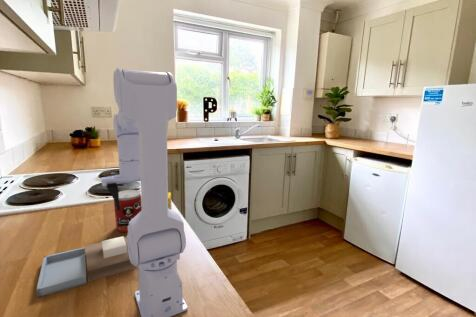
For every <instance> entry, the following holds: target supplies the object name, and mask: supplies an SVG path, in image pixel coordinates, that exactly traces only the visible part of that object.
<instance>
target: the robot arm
mask: <svg viewBox="0 0 476 317" xmlns="http://www.w3.org/2000/svg"><path fill="white" fill-rule="evenodd" d="M112 77H113V93H114V94H113V95H114V100H115V102H116V105H117V108H118V112H117V113H114V114H113V115H114V116H113V118H112V119H113V121H112V122H113V130H114V135H115V136H116V144H117V154H118V156H117V158H118V168H119V169H118V170H119V174H116V175H108V176H103V177H101V178H100V180H101V182H100V183H101V186H102V187H106V188H107V190H108V192H109V194H110V195H111V197H112V198H113V202H114V201H115V204H116V208H117V211H120V204H119V192H120V191H119V187H118V186H119V184H127V183H134V182H136V183H137V182H140V193H141V207H142V210H141V211H140V212H139V213H138V214H137V215H136V216H135V217H134V218H133V219H132V220H131V221H130V222H129V225H128V232H127V235H126V236H127V245H128V253H129V259H130V262H131V264H133V265H134V266H137V275H138V288H139V290H136V291H134V296H135V299H136V303H137V306H138V307H137V308H138V309H139V312H140V313H139V314H140V316H141V317H173V316H176V315H177V314H181V313H182V312H183V313H184V312H185V311H188V306H189V305H188V304H187V302H186V301H185V299H184V296H183V282H182V279H181V277H180V275H179V272H178V260H180V259H181V258H180V256H181V255H180V254H182V253H184V252H185V249H186V247H187V239H186V232H185V226H184V220H183V219H182V217H181V216H180V215H179V213H178V212H176V211H174V210H170V209H168V193H169V180H168V179H169V177H168V175H169V173H168V171H169V169H168V129H169V128H168V126H169V122H170V121H171V120H173V119H174V118H176V117H177V112H178V86H177V83H176V79H175V77H174V75H173V74H172V73H171V72H169V71H166V72H162V71H161V72H160V71H151V70H150V71H149V70H137V69H126V68H124V69H123V68H122V67H116V69H115V70H114V71H113V76H112Z"/></svg>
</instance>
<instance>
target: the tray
mask: <svg viewBox="0 0 476 317" xmlns="http://www.w3.org/2000/svg"><path fill="white" fill-rule="evenodd" d="M37 281H38V282H37V286H36V295H37V298H38V297H39V298H41V297H40V296H42V297H44V296H43V295H46V294H49V295H51V294H50V293H53V294H55V293H58V292H62V291H66V290H69V289H73V288H77V287H79V286H83V285H86V284H87V283H88V281H87V261H86V246H84V247H79V248H75V249H71V250H66V251H62V252H57V253H53V254H49V255H44V256H43V260H42V262H41V268H40V272H39V277H38V280H37ZM87 285H88V284H87ZM46 296H47V295H46Z"/></svg>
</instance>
